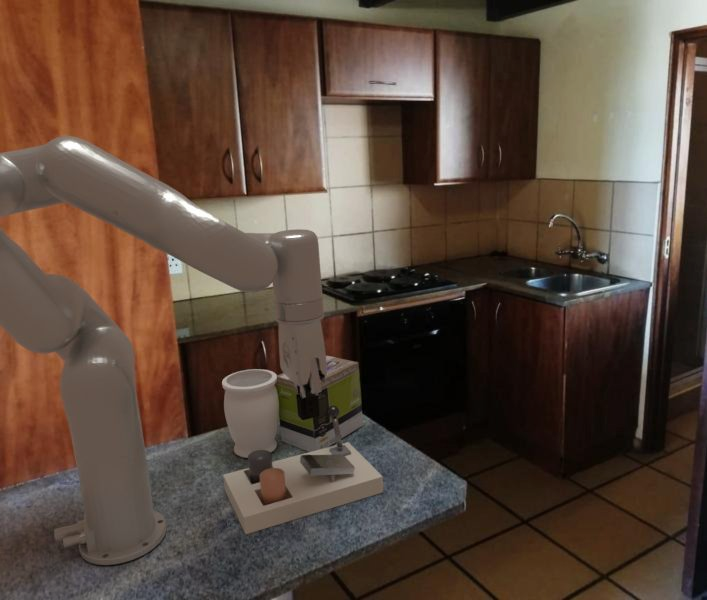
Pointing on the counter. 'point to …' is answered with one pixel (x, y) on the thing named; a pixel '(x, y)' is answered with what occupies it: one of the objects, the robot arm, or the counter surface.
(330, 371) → the tea box
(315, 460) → the rocker
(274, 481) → the terracotta button
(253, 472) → the black button
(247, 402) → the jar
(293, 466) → the panel
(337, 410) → the toggle lever
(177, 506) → the counter surface
